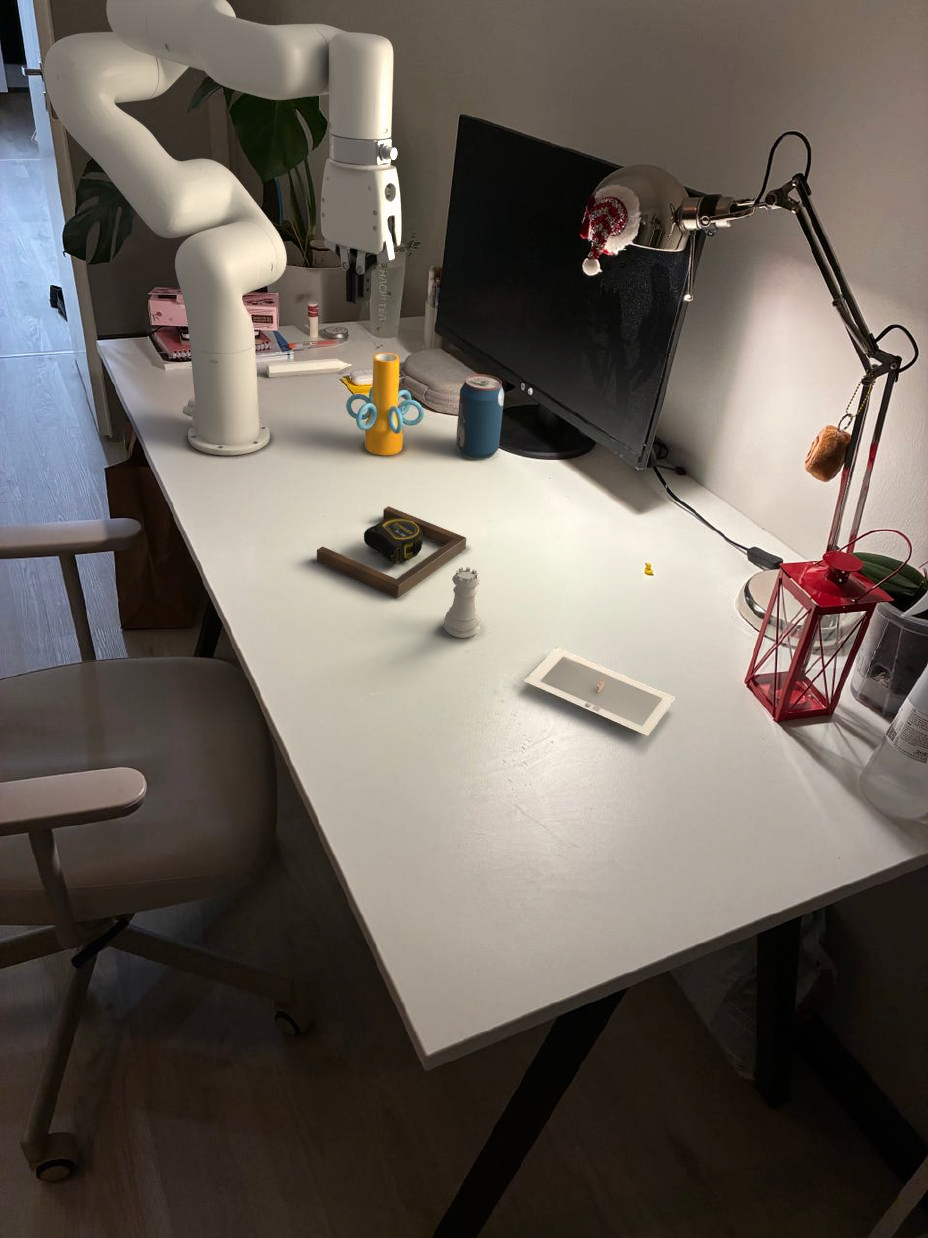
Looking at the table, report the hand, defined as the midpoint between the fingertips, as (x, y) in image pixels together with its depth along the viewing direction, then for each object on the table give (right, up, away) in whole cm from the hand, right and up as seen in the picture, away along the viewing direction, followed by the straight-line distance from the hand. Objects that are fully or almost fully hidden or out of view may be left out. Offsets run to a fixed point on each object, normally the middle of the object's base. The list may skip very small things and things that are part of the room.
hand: (358, 300), depth 129 cm
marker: (-14, +3, +49) cm, 51 cm away
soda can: (+16, -16, +27) cm, 35 cm away
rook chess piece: (+14, -44, -13) cm, 48 cm away
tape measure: (+5, -34, 0) cm, 35 cm away
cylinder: (+1, -15, +26) cm, 30 cm away
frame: (+4, -34, 0) cm, 34 cm away
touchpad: (+29, -51, -21) cm, 63 cm away
